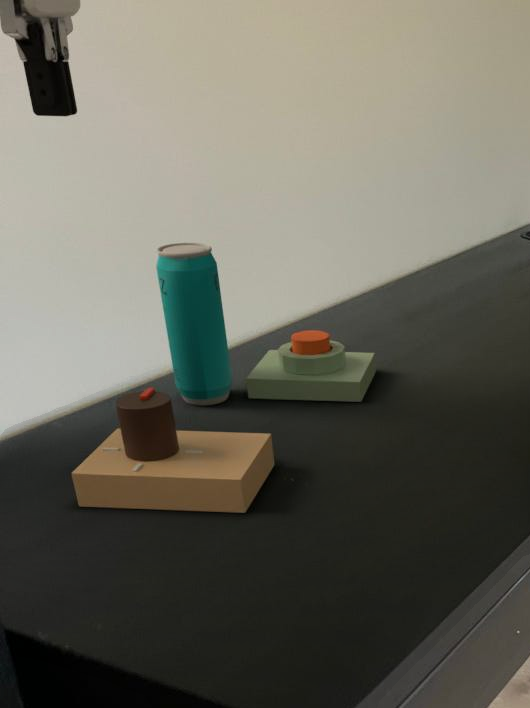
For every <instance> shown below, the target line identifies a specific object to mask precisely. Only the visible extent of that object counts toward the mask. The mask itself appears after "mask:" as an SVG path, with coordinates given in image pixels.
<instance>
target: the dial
mask: <svg viewBox="0 0 530 708" xmlns="http://www.w3.org/2000/svg"><path fill="white" fill-rule="evenodd" d="M114 404H115V409H116V414H117V418H118V424H119V429H121V434H122V439H123V444H124V449H125V454H126V456H127V457H128V458H130V459H133V460H138V461H154V460H160V459H165V458H168V457H170V456H173V455H174V454H176V453H177V452H178V450H179V444H178V438H177V432H176V431H177V427H176V426H177V425H176V421H175V415H174V410H173V402H172V397H171V395H169V394H168V393H166V392H163V391H158V390H156V389H155V387H147V388H146V389H145V390H144V391H134V392H131V393H127V394H124V395H121V396H119V397H118V398H117V399H116V400H115V403H114Z"/></svg>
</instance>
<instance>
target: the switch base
mask: <svg viewBox="0 0 530 708" xmlns="http://www.w3.org/2000/svg"><path fill="white" fill-rule="evenodd" d="M376 364H377V363H376V353H375V352H360V351H358V352H357V351H346V347H345V345H344V344H342V343H341V342H339V341H335V340H331V339H330V352H327V353H324V354H317V355H300V354H295V353H293V350H292V341H290V342H287V343H284V344H281V345H280V347H279V348H278V349H269V350H268V351H267V353H266V354H265V355H264V356H263V357H262V358H261V360H260V361H259V362H258V363H257V364H256V365H255V367H254V368H253V369H252V371H251V372H250V373H249V374H248V376H247V377H246V378H245V381H246V390H247V397H248V399H252V400H257V399H258V400H287V401H317V402H318V401H319V402H347V403H349V402H350V403H361V402H362V401H363V399H364V397H365V395H366V393H367V391H368V389H369V386H370V384H371V383H372V381H373V380H374V379H373V378H374V376H375V375H376V372H377V368H376V367H377V366H376Z"/></svg>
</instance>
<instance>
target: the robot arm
mask: <svg viewBox="0 0 530 708" xmlns="http://www.w3.org/2000/svg"><path fill="white" fill-rule="evenodd" d="M80 9H81V0H0V27H1V31H2V33H3V34H4V35H6V36H8V37H10V38H12V39H13V40H14V41H15V45H16V49H17V53H18V56H19V59H20V60H21V62H22V64H23V69H24V72H25V78H26V83H27V89H28V93H29V99H30V104H31V108H32V112H33V113H34V115H36V116H38V117H70V116H75V115H76V114H77V113H78V107H77V102H76V97H75V90H74V85H73V79H72V74H71V69H70V63H69V60H70V50H69V49H70V48H69V43H68V35H70V34H71V33H72V32H73V31H74V25H73V20H72V17H74V16H75V15H76V14H77V13H78V12H79V11H80Z"/></svg>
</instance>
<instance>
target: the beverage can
mask: <svg viewBox="0 0 530 708" xmlns="http://www.w3.org/2000/svg"><path fill="white" fill-rule="evenodd" d="M212 252H213V248H212V246H211V245H209V244H206V243H201V242H178V243H177V242H176V243H170V244H165V245H162V246H159V247H158V248H157V249H156V253H157V254H158V258H157V262H156V266H155V268H156V274H157V279H158V286H159V291H160V298H161V304H162V310H163V316H164V322H165V328H166V335H167V341H168V347H169V353H170V358H171V366H172V371H173V377H174V383H175V386H176V388H177V390H178V392H179V394H180V395H181V398H182V399H183V401H185V403H187V404H190V405H193V406H213V405H218V404H221V403H223V402H225V401H226V400H227V399H228V398H229V396H230V393H231V389H232V384H233V376H232V367H231V362H230V354H229V346H228V338H227V330H226V325H225V324H226V323H225V316H224V309H223V301H222V292H221V285H220V277H219V271H218V269H219V268H218V263H217V261H216V259H215V257H214V255H213V253H212Z"/></svg>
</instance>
